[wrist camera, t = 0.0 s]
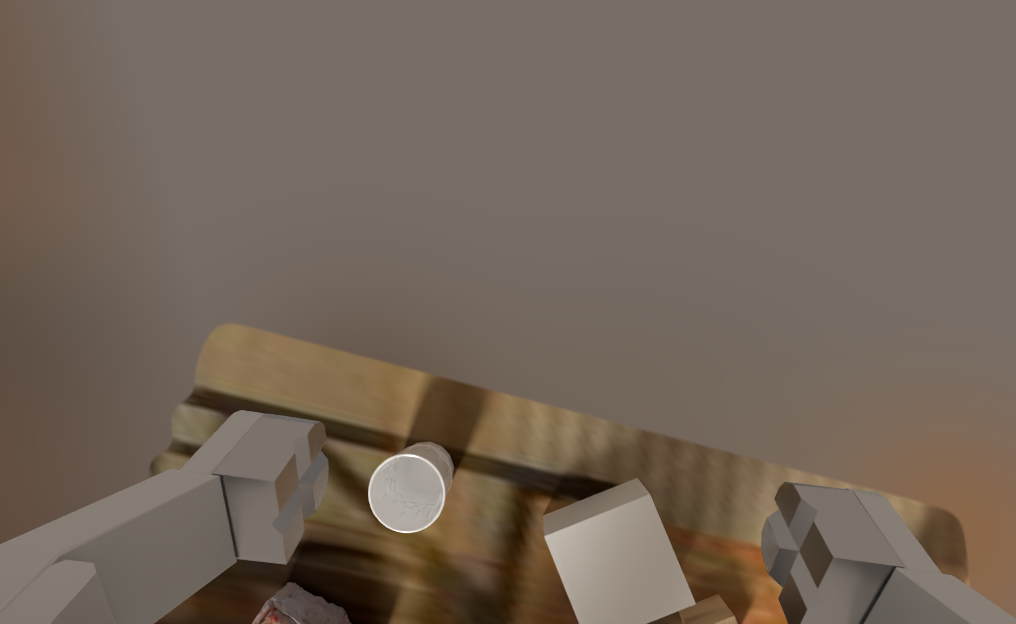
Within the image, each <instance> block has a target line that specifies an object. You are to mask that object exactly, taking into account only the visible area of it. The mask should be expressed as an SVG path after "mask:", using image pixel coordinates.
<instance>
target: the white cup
mask: <svg viewBox="0 0 1016 624" xmlns="http://www.w3.org/2000/svg"><path fill="white" fill-rule="evenodd" d="M453 472H454V465H453V462H452V459H451V456H450V454H449V453H448V452H447V451H446V450H445V449H444V448H443V447H442V446H440V445H438V444H435V443H432V442H430V441H429V442H419V443H416V444H414V445H412V446H409V447H407V448H405V449H403V450H401V451H400V452H398V453H396V454H395V455H393V456H392V457H390V458H388V459H387V460H385V461H384V462H383V463H381V464H380V465H379V466H378V468H377V469H376V470H375V472H374V474H373V475H372V478H371V480H370V484H369V491H368V496H369V502H370V506H371V509H372V511H373V513H374V515H375V516H376V517H377V519H378V520H379V521H380V522H381V523H382V524H383V525H385V526H386V527H388V528H389V529H392V530H394V531H397V532H402V533H412V532H417V531H420V530H422V529H425V528H426V527H428V526H429V525H431V524H432V523H433V522H434V521H435V520H436V519H437V517H438V516H439V514H440V513H441V511H442V509H443V506H444V503H445V501H446V498H447V496H448V493H449V490H450V487H451V483H452V480H453Z"/></svg>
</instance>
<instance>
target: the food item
mask: <svg viewBox="0 0 1016 624" xmlns="http://www.w3.org/2000/svg"><path fill="white" fill-rule="evenodd" d="M252 624H352V623H350V622H349V619H348V617H347V614H346V611H345V610H344V609H343V608H342V607H338V606H336V605H335V604H333V603H331V604H328V603H327V602H326V601H325V600H324V599H323V598H322V597H319V596H313V595H312V594H311V593H308V592H307V591H305V590H304V589H303V588H302V587H300V586H299V585H296V583H291V582H289V583H287V585H286V586H285V587H284V588H282V589H281V590H279V591H278V592H277V593H276V594H275V595H274V596H273V597H272V598H271V599H269V600H267V601H266V603H265V604H264V606H263V607H262V609H261V611H260V612H259V614H258V615H257V616H256V618H255V620H254V621H253V623H252Z"/></svg>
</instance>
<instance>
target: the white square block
mask: <svg viewBox="0 0 1016 624" xmlns="http://www.w3.org/2000/svg"><path fill="white" fill-rule="evenodd" d="M543 526H544V537H545V540H546V542H547V545H548V547H549V550H550V552H551V555H552V557H553V560H554V562H555V565H556V567H557V570H558V572H559V575H560V577H561V580H562V582H563V585H564V587H565V590H566V592H567V595H568V597H569V600H570V602H571V605H572V607H573V610H574V612H575V615H576V617H577V620H578V622H579V624H647V623H649V622H652V621H655V620H657V619H660V618H662V617H665V616H667V615H670V614H672V613H675V612H677V611H680V610H682V609H685V608H687V607H690V606H693V605H695V604H696V603H695V600H694V598H693V596H692V593H691V591H690V588H689V586H688V584H687V581H686V579H685V577H684V574H683V572H682V569H681V567H680V565H679V562H678V560H677V557H676V555H675V553H674V550H673V548H672V545H671V543H670V541H669V538H668V536H667V534H666V531H665V529H664V526H663V524H662V522H661V519H660V517H659V514H658V512H657V510H656V507H655V505H654V502H653V500H652V498H651V495H650V493H649V492H648V491H647V490H646V488H645V487H644V486H643V484H642V483H641V482H640V481H639V479H638V478H635V479H633V480H630V481H628V482H625V483H623V484H620V485H618V486H615V487H613V488H610V489H608V490H605V491H603V492H600V493H598V494H595V495H593V496H590V497H588V498H586V499H583V500H581V501H578V502H576V503H573V504H571V505H568V506H566V507H563V508H561V509H558V510H556V511H553V512H551V513H548V514H546V515H543Z"/></svg>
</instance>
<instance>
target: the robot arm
mask: <svg viewBox="0 0 1016 624" xmlns="http://www.w3.org/2000/svg"><path fill="white" fill-rule="evenodd" d="M325 441H326V435H325V428H324V425H323V424H322V423H321V422H319V421H312V420H306V419H299V418H292V417H286V416H279V415H273V414H263V413H257V412H250V411H243V410H241V411H238V412H235V413H233V414H232V415H231V416H230V417H229V418H228V419H227V420H226V421H225V423H224V424H223V425H222V426H221V427H220V428H219V429H218V430H217V431H216V432H215V433H214V434H213V435H212V436H211V437H210V438H209V439H208V440H207V441H206V442H205V444H204V445H203V446H202V447H201V448H200V449H199V450H198V451H197V452H196V453H195V454H194V455H193V456H192V457H191V458H190V459H189V460H188V461H187V462H186V464H185V465H184V466H183V467H182V468H181V469H180V470H173V469H170V470H167V471H165V472H163V473H161V474H158V475H156V476H154V477H152V478H149V479H147V480H145V481H143V482H140V483H138V484H136V485H133V486H131V487H129V488H127V489H124V490H122V491H120V492H118V493H115V494H113V495H111V496H109V497H106V498H104V499H102V500H100V501H97V502H95V503H93V504H91V505H88V506H86V507H84V508H82V509H79V510H77V511H75V512H72V513H70V514H68V515H66V516H63V517H61V518H59V519H57V520H55V521H52V522H50V523H48V524H45V525H43V526H41V527H39V528H36V529H34V530H32V531H30V532H28V533H25V534H23V535H21V536H18V537H16V538H14V539H11V540H9V541H7V542H5V543H2V544H0V624H154V623H155V622H156V621H158V620H159V619H160V618H162V617H163V616H164V615H166V614H167V613H168V612H170V611H171V610H172V609H174V608H175V607H177V606H178V605H179V604H181V603H182V602H183V601H185V600H186V599H187V598H189V597H190V596H191V595H193V594H194V593H195V592H197V591H198V590H199V589H201V588H202V587H203V586H205V585H206V584H207V583H209V582H210V581H211V580H213V579H214V578H215V577H217V576H218V575H219V574H221V573H222V572H223V571H225V570H226V569H227V568H229V567H230V566H231V565H233V564H234V563H235V562H236V561H237V560H236V559H244V560H252V561H261V562H270V563H279V564H287V563H288V561H289V559H290V557H291V555H292V554H293V552H294V550H295V548H296V546H297V545H298V543H299V541H300V539H301V538H302V536H303V534H304V523H303V520H304V519H305V518H307V517H308V516H310V515H312V514H313V513H315V512H316V510H317V509H318V507H319V505H320V503H321V501H322V499H323V496H324V492H325V489H326V486H327V481H328V471H329V470H328V459H327V458H326V457H325V456H324V455H323V453H322V452H321V451H320V449H321V448H322V446H323V444H324V443H325ZM775 501H776V503H777V505H778V507H779V509H780V510H778V511H776V512H775V513H773V514H772V515H770V516H769V517H767V519H766V522H765V525H764V527H763V530H762V541H761V550H762V555H763V560H764V563H765V566H766V569H767V571H768V574H769V575H770V576H771V577H772V578H773V579H774V580H775V581H776V582H777V583H778V584H779V585H780V586H781V587H783V589H782V591H781V594H780V596H779V598H778V599H779V602H780V604H781V607H782V609H783V612H784V614H785V617H786V619H787V622H788V624H1016V619H1015V618H1014V617H1012V616H1011V615H1009V614H1008V613H1006V612H1005V611H1004V610H1002V609H1001V608H999V607H998V606H996V605H995V604H993V603H992V602H991V601H989V600H988V599H986V598H985V597H983V596H982V595H980V594H979V593H977V592H976V591H975V590H973V589H972V588H970V587H969V586H967V585H966V584H965V583H963V582H962V581H960V580H959V579H957V578H956V577H954V576H953V575H947V574H942V573H941V571H940V570H939V569H938V567H937V566H936V565H935V563H934V562H933V561H932V559H931V558H930V557H929V555H928V554H927V553H926V551H925V550H924V549H923V547H922V546H921V544H920V543H919V542H918V540H917V539H916V538H915V536H914V535H913V534H912V532H911V531H910V530H909V528H908V527H907V526H906V524H905V523H904V522H903V520H902V519H901V518H900V516H899V515H898V513H897V512H896V511H895V509H894V508H893V507H892V505H891V504H890V503H889V501H888V500H887V499H886V498H885V497H884V496H883V495H881V494H880V493H878V492H874V491H864V490H855V489H840V488H832V487H824V486H816V485H807V484H799V483H791V482H784V483H783V484H782V485H781V486H780V487H779V489H778V492H777V494H776V496H775Z"/></svg>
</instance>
